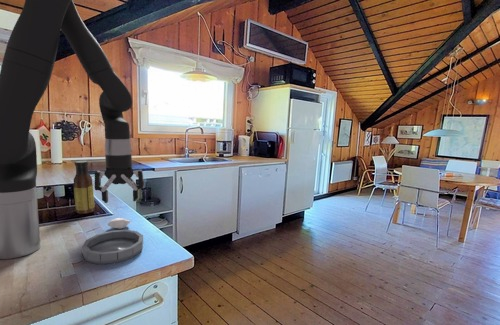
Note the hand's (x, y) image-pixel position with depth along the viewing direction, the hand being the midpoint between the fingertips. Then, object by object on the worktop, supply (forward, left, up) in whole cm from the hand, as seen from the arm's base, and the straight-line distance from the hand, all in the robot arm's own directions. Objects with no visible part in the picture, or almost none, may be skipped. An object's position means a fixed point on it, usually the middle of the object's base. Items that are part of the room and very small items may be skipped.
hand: (120, 201), depth 86 cm
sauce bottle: (-16, +19, -10) cm, 26 cm away
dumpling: (-1, 0, -10) cm, 10 cm away
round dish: (0, -16, -9) cm, 18 cm away
